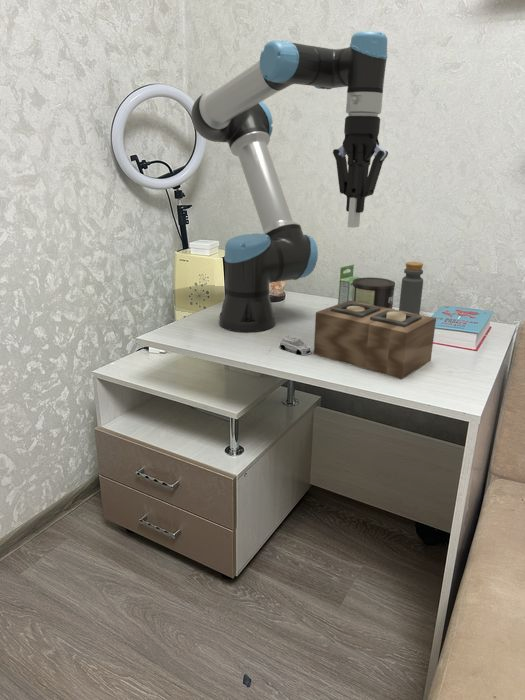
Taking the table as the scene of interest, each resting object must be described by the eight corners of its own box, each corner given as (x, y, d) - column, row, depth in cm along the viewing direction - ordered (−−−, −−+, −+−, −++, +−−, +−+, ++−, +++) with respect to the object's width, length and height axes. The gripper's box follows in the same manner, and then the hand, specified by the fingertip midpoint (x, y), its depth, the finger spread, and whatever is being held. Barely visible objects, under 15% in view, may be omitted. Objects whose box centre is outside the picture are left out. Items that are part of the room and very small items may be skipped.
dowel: (379, 353, 115) (383, 314, 112) (388, 349, 118) (392, 310, 115) (396, 358, 113) (400, 317, 110) (404, 353, 116) (409, 313, 113)
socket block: (313, 353, 121) (315, 309, 118) (346, 339, 131) (349, 297, 128) (401, 379, 108) (407, 329, 104) (430, 360, 118) (436, 315, 114)
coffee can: (389, 331, 138) (394, 278, 133) (390, 344, 128) (396, 287, 123) (349, 328, 140) (353, 276, 135) (347, 340, 130) (351, 284, 125)
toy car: (304, 357, 120) (304, 345, 119) (277, 349, 125) (278, 337, 124) (314, 353, 122) (314, 341, 121) (287, 345, 127) (288, 333, 126)
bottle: (394, 314, 153) (399, 262, 147) (406, 311, 156) (411, 260, 151) (411, 319, 148) (417, 266, 143) (423, 315, 152) (429, 263, 147)
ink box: (348, 315, 151) (351, 269, 146) (336, 313, 154) (339, 267, 149) (361, 311, 156) (365, 266, 151) (350, 308, 158) (353, 264, 154)
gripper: (328, 114, 115) (320, 225, 123) (381, 114, 107) (369, 231, 115) (346, 116, 120) (338, 222, 129) (398, 116, 112) (386, 228, 121)
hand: (353, 226), depth 122 cm, fingers closed
